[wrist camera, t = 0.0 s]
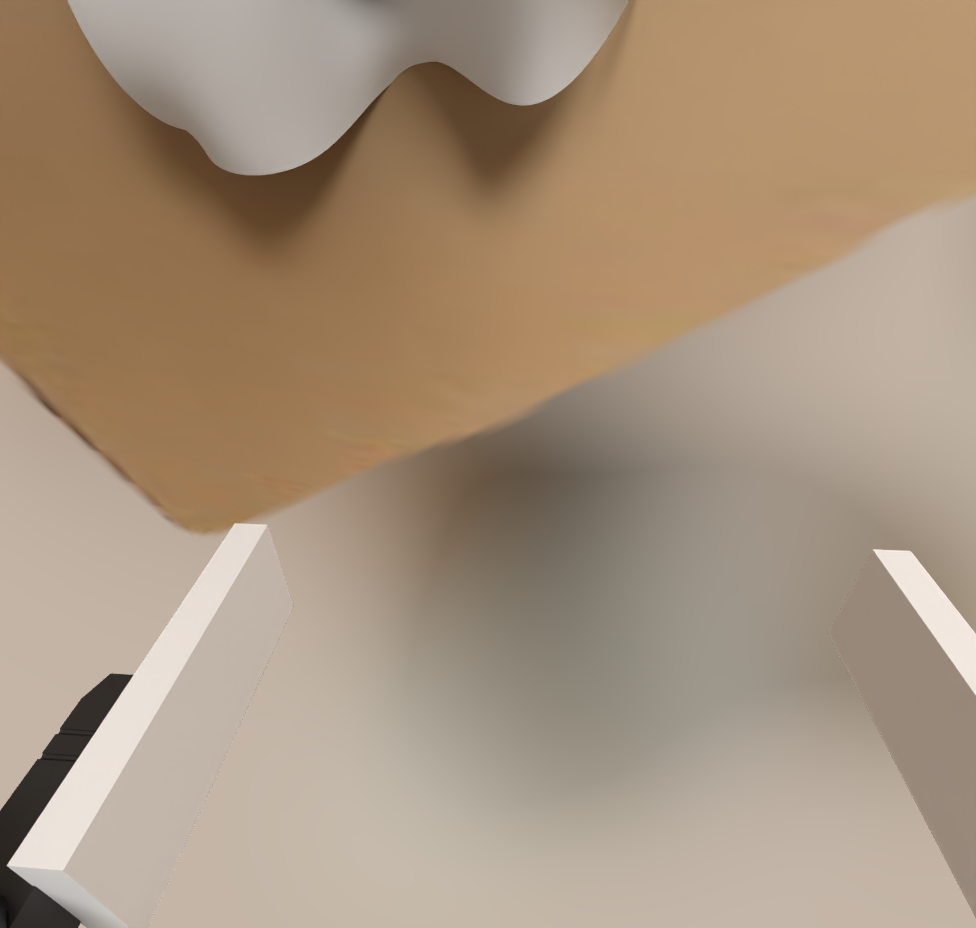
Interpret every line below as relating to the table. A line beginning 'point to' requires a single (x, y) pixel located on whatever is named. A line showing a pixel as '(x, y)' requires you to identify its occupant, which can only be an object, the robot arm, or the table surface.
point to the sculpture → (325, 61)
